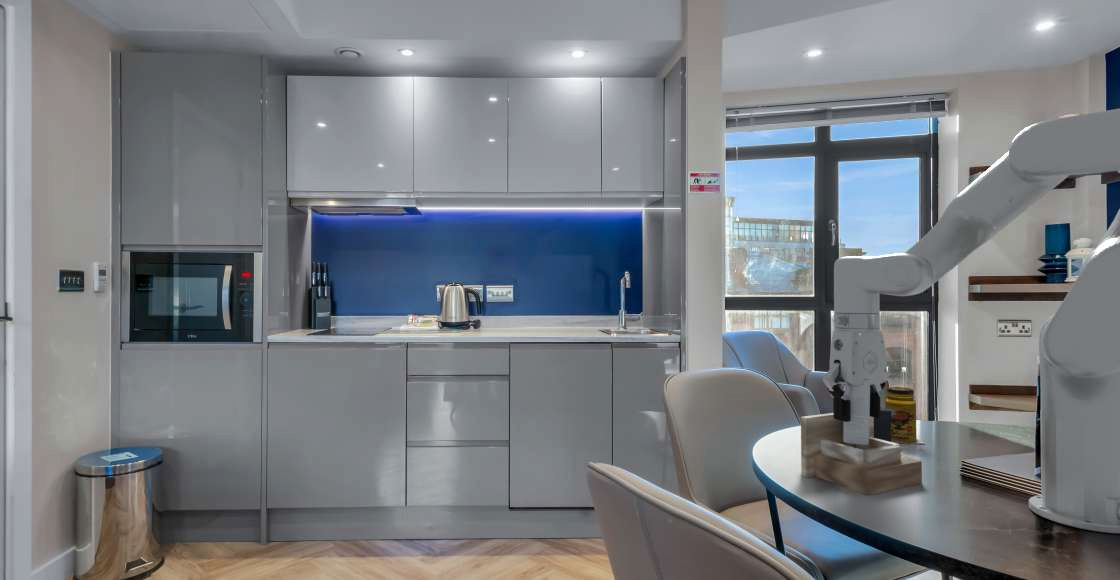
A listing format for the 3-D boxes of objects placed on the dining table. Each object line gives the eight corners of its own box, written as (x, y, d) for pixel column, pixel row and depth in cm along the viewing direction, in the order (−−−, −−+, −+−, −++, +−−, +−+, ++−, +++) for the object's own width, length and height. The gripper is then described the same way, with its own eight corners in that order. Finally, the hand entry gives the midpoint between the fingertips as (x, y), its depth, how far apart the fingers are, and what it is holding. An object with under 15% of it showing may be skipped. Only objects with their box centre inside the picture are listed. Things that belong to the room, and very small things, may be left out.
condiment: (892, 444, 128) (891, 390, 128) (874, 434, 136) (874, 384, 136) (926, 444, 127) (925, 391, 127) (906, 435, 135) (906, 384, 135)
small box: (894, 461, 114) (894, 409, 114) (861, 461, 114) (861, 410, 115) (867, 447, 125) (866, 399, 125) (837, 447, 125) (836, 400, 125)
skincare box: (843, 435, 109) (843, 372, 109) (870, 438, 107) (869, 374, 107) (843, 443, 104) (842, 377, 104) (870, 446, 102) (870, 378, 102)
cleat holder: (929, 481, 102) (928, 420, 102) (858, 497, 95) (858, 431, 95) (860, 460, 115) (860, 406, 115) (793, 472, 108) (793, 415, 108)
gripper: (840, 325, 98) (840, 427, 98) (907, 322, 105) (907, 418, 105) (805, 323, 105) (806, 418, 105) (870, 320, 112) (871, 410, 112)
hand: (857, 417), depth 105 cm, fingers closed on skincare box, 7 cm apart
